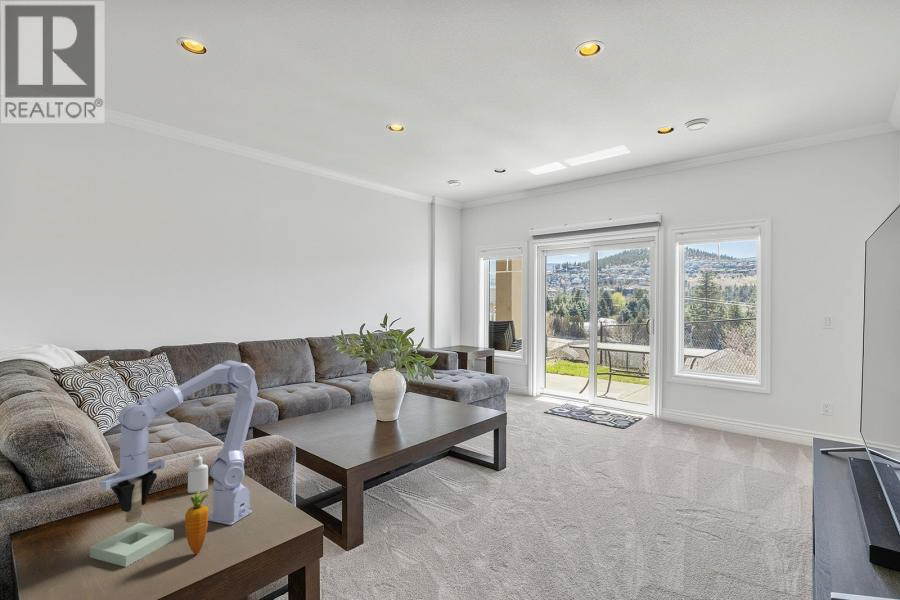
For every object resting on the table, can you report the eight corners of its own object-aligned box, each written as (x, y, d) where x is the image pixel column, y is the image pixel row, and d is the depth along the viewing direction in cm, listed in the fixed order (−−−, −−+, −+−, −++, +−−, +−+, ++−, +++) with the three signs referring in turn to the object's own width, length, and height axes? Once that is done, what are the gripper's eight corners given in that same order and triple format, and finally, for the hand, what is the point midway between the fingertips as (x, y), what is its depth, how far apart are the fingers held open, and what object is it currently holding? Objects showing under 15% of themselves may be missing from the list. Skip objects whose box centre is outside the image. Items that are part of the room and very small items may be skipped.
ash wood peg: (144, 517, 107) (145, 479, 107) (131, 523, 104) (132, 484, 104) (135, 515, 108) (135, 477, 108) (122, 521, 105) (122, 482, 105)
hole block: (173, 539, 110) (173, 530, 110) (125, 567, 99) (126, 556, 99) (139, 531, 114) (140, 522, 114) (89, 557, 102) (90, 546, 102)
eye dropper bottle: (201, 494, 136) (202, 456, 136) (185, 493, 137) (185, 455, 137) (210, 488, 141) (210, 451, 141) (194, 487, 141) (194, 451, 141)
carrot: (192, 548, 106) (193, 487, 107) (212, 548, 106) (213, 488, 106) (179, 560, 101) (180, 496, 102) (200, 560, 101) (200, 497, 101)
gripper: (151, 441, 115) (150, 492, 114) (91, 460, 101) (90, 518, 101) (170, 444, 112) (170, 496, 112) (112, 464, 99) (111, 523, 98)
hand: (133, 507), depth 106 cm, fingers closed on ash wood peg, 3 cm apart
